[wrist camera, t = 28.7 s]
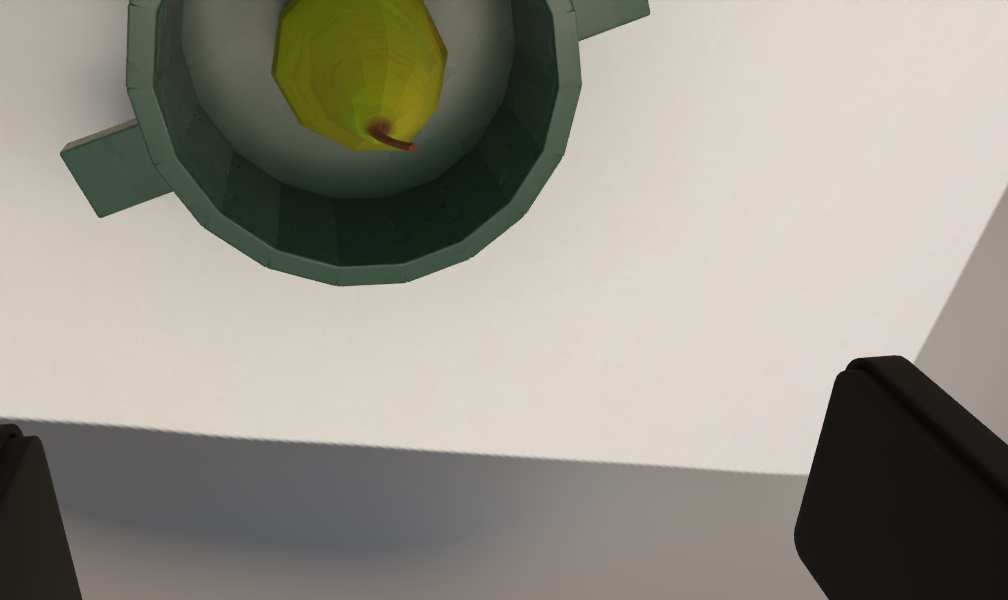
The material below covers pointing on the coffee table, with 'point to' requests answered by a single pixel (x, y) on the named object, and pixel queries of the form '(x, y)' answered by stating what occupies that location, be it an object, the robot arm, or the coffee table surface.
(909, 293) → the coffee table surface
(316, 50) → the fruit
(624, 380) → the coffee table surface
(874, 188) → the coffee table surface
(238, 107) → the pot
